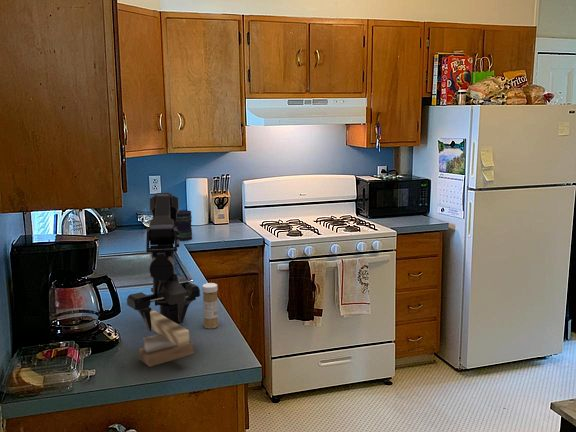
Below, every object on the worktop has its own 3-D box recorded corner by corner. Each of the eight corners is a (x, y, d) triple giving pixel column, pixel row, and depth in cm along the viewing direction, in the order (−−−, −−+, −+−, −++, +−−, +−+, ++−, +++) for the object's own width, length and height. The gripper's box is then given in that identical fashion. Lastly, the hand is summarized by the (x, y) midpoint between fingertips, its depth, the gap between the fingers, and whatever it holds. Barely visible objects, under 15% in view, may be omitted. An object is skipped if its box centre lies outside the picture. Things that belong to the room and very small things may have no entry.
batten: (189, 343, 145) (188, 330, 144) (178, 346, 143) (178, 333, 142) (154, 322, 160) (154, 310, 160) (144, 324, 158) (144, 312, 158)
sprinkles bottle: (212, 322, 178) (210, 281, 176) (221, 326, 175) (220, 284, 173) (200, 326, 175) (199, 284, 173) (209, 330, 172) (208, 287, 169)
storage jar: (195, 239, 302) (194, 212, 299) (177, 242, 297) (176, 213, 294) (188, 236, 310) (187, 209, 308) (170, 238, 305) (169, 211, 302)
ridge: (139, 359, 151) (138, 336, 150) (183, 347, 159) (182, 325, 158) (149, 366, 146) (148, 343, 145) (193, 354, 154) (192, 331, 153)
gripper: (143, 283, 137) (146, 344, 139) (210, 270, 148) (211, 327, 151) (124, 273, 145) (127, 331, 148) (189, 262, 157) (190, 316, 159)
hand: (165, 326), depth 151 cm, fingers open, 9 cm apart
